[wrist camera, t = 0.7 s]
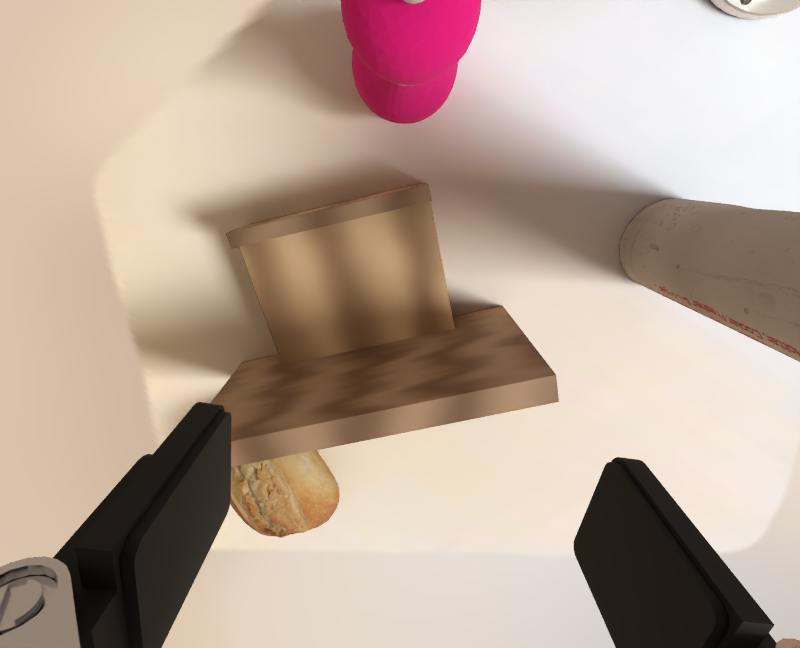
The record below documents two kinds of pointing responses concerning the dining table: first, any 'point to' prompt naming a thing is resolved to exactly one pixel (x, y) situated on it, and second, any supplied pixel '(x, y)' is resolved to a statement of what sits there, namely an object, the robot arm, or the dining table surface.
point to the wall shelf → (367, 334)
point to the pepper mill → (408, 52)
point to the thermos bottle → (722, 265)
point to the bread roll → (284, 494)
